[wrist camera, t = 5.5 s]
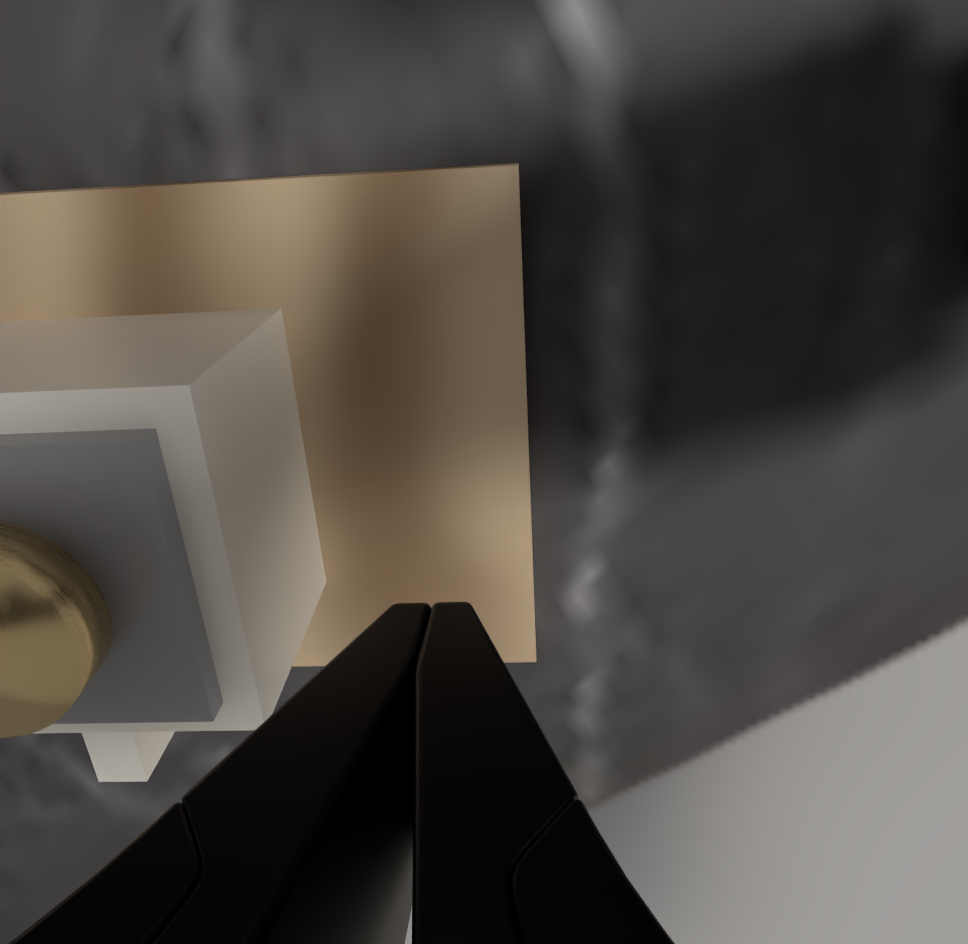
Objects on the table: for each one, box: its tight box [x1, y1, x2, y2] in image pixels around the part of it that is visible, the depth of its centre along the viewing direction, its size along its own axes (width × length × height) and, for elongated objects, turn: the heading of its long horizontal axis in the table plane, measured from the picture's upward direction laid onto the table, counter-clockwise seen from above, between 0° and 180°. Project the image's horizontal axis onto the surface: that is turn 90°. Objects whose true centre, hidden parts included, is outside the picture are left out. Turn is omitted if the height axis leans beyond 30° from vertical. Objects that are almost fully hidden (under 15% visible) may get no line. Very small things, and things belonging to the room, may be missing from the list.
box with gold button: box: [0, 308, 326, 782], centre depth 19 cm, size 8×10×7 cm
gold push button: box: [0, 521, 181, 737], centre depth 17 cm, size 5×5×7 cm
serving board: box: [0, 163, 536, 666], centre depth 22 cm, size 20×14×1 cm
